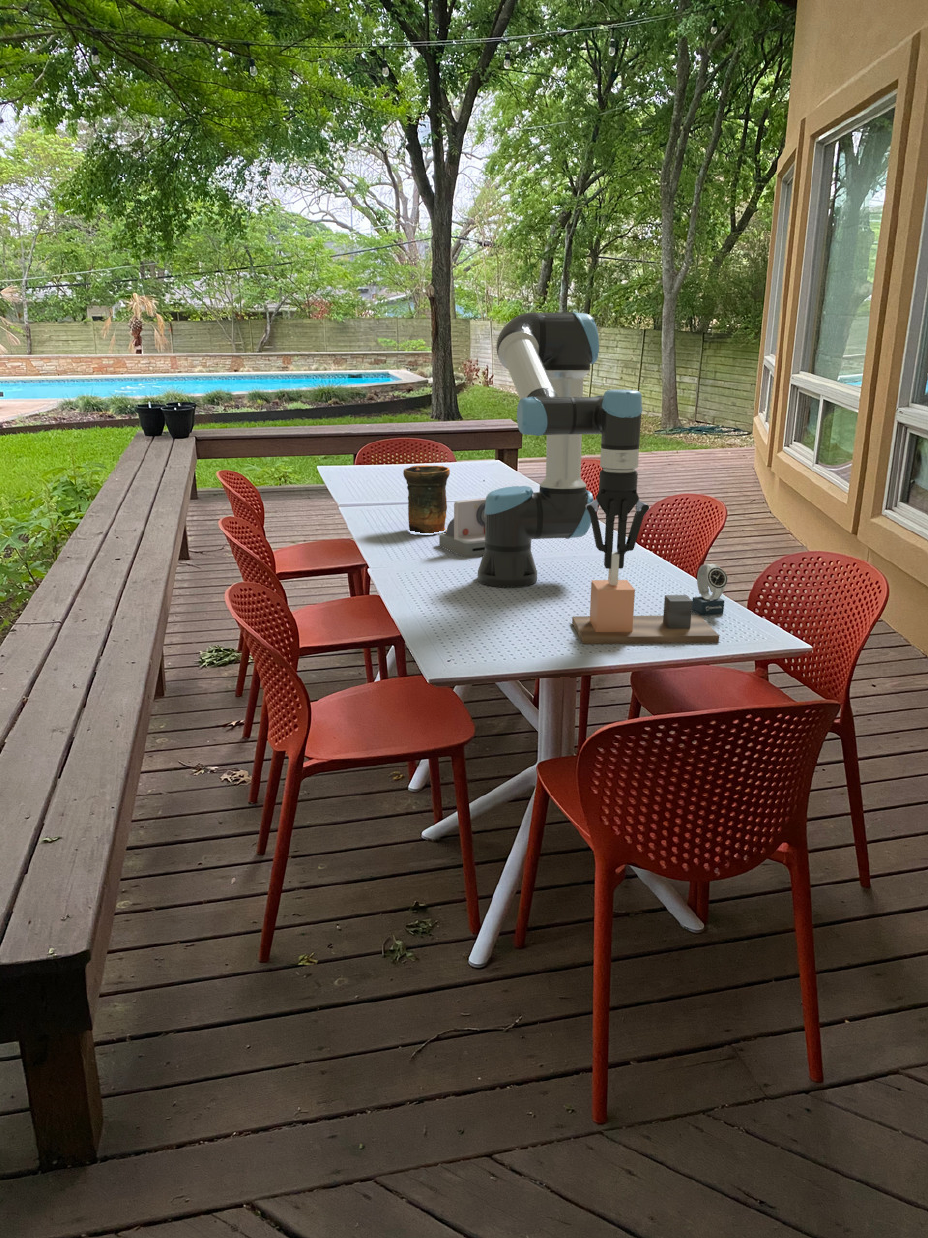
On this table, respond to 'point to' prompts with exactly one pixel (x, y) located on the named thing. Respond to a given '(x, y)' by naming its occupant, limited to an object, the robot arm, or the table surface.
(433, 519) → the vessel
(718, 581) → the watch
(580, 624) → the post board
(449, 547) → the instant camera
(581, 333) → the robot arm
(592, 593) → the peach cube
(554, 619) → the table surface
